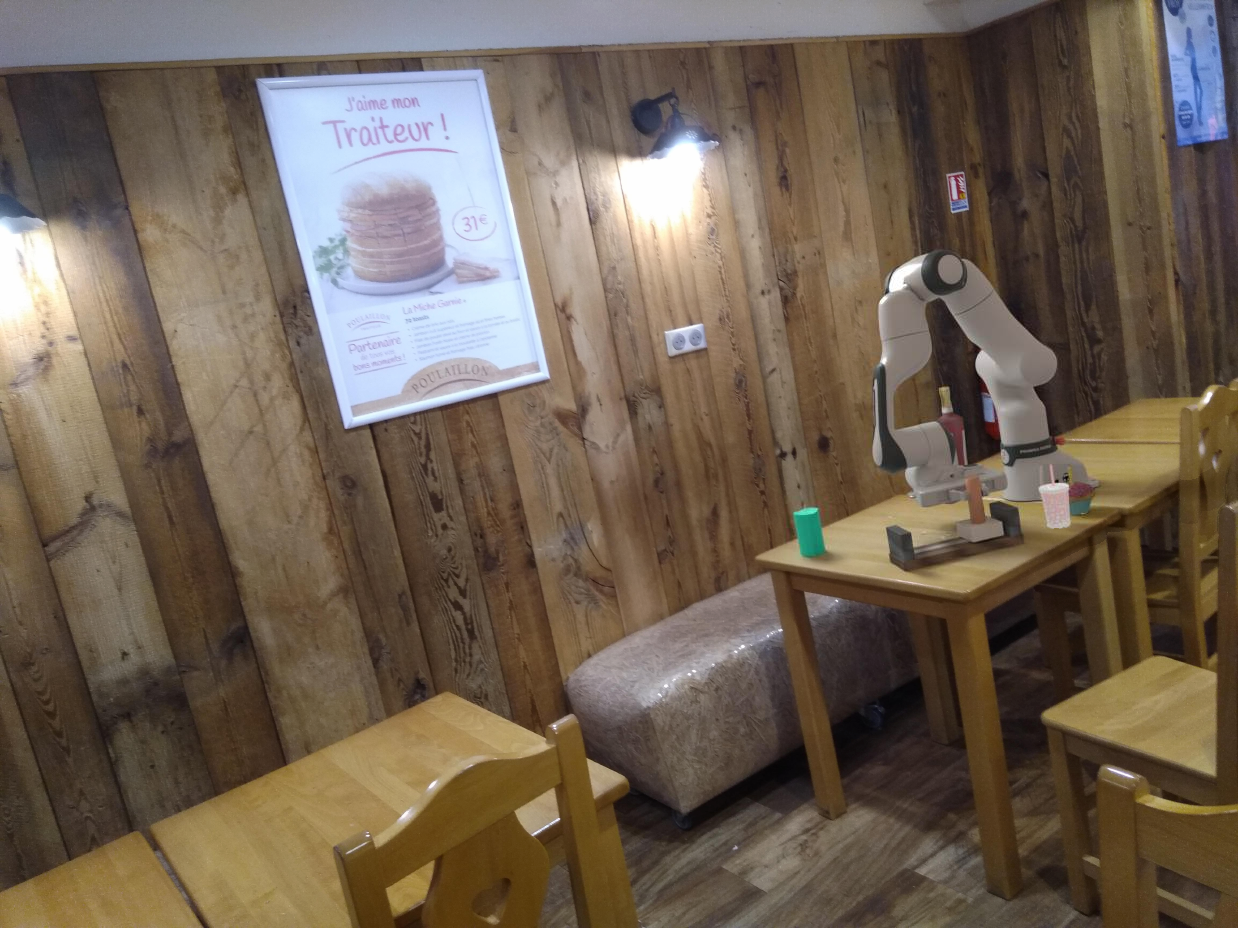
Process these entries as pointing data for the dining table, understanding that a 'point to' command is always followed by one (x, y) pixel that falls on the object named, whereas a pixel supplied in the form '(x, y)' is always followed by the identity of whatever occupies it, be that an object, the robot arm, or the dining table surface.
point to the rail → (953, 542)
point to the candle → (809, 532)
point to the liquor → (953, 426)
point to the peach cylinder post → (977, 516)
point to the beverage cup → (1056, 503)
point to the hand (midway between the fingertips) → (976, 494)
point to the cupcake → (1079, 495)
